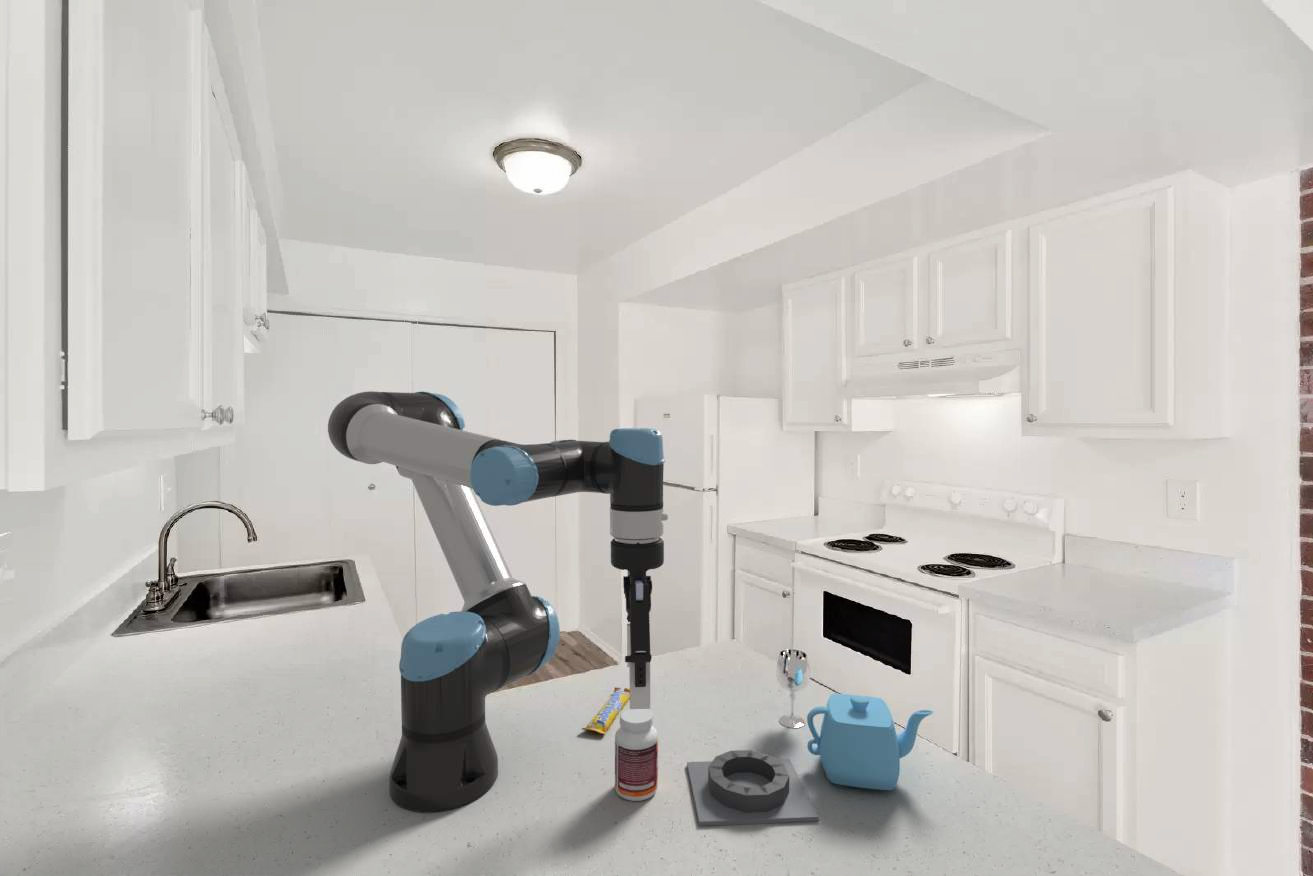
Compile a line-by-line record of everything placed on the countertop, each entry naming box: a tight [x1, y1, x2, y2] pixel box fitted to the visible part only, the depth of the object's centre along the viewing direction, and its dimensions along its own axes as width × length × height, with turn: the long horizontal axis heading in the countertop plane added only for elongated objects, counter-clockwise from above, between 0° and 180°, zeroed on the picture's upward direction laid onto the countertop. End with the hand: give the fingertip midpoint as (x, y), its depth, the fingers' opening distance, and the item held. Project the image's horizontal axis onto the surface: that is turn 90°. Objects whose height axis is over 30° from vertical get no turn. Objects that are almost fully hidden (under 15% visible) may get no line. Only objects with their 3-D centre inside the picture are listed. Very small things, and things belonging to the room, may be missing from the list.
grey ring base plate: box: [686, 749, 819, 827], centre depth 91 cm, size 16×14×3 cm
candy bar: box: [581, 687, 630, 735], centre depth 115 cm, size 17×4×2 cm, turn 164°
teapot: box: [806, 693, 934, 791], centre depth 96 cm, size 12×18×12 cm
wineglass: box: [775, 648, 811, 729], centre depth 111 cm, size 6×6×12 cm
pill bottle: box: [614, 707, 659, 802], centre depth 92 cm, size 6×6×11 cm
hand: (637, 685), depth 91 cm, fingers open, 13 cm apart
